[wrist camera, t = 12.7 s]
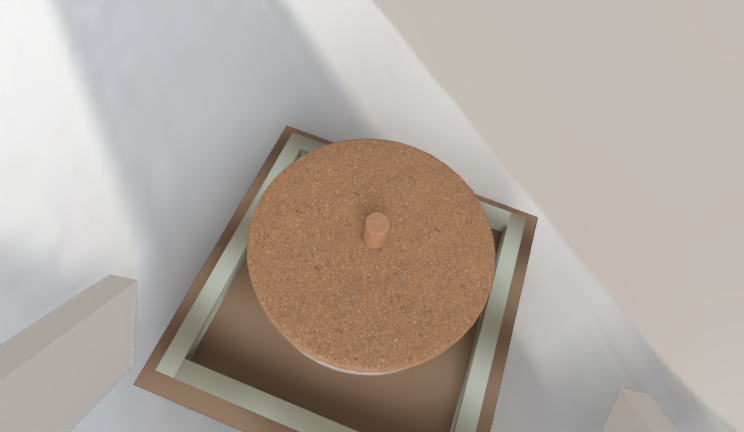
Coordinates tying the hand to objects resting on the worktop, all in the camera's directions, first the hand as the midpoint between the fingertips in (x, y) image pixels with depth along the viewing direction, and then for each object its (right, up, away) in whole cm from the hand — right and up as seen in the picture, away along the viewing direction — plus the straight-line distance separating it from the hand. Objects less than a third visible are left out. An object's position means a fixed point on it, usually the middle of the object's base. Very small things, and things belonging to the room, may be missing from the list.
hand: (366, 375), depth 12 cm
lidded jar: (0, 0, +14) cm, 14 cm away
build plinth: (-1, -2, +18) cm, 18 cm away
